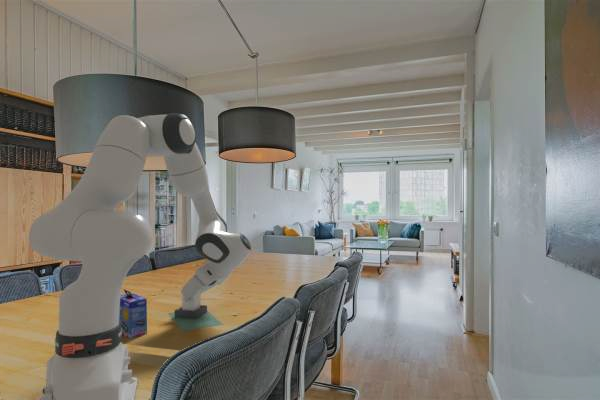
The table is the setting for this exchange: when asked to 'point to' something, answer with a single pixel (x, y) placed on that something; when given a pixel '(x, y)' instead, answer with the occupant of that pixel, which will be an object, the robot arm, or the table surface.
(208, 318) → the board
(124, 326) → the ink cartridge box
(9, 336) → the table surface
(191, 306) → the plug
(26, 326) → the table surface
